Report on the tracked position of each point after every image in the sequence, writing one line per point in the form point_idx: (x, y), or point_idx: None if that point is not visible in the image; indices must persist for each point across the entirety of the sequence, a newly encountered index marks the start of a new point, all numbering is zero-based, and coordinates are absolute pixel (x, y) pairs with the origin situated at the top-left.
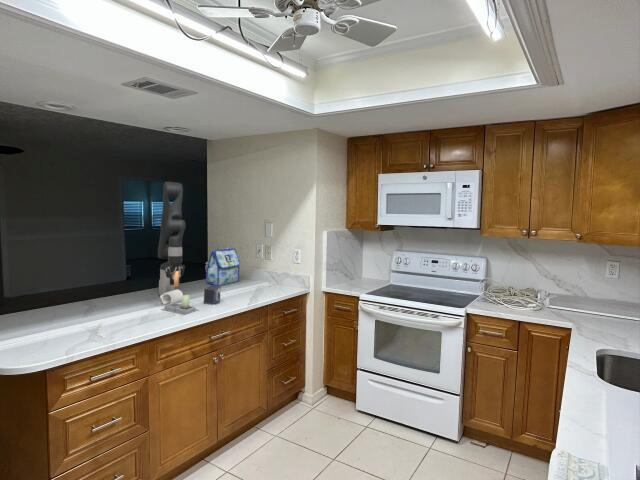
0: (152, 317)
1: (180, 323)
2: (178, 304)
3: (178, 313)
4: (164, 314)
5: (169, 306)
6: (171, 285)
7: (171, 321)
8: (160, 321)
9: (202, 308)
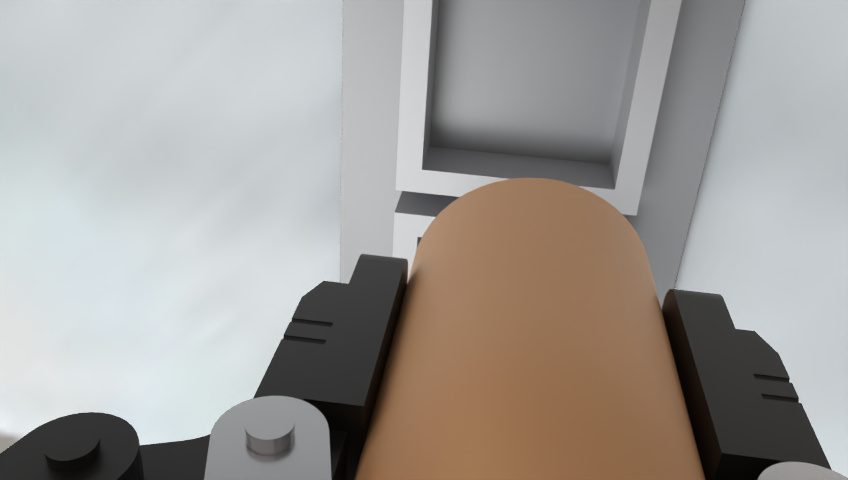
0: (59, 23)
1: (143, 443)
2: (630, 97)
3: (350, 277)
4: (269, 73)
5: (413, 62)
6: (420, 249)
7: (123, 334)
8: (34, 231)
9: (816, 353)
